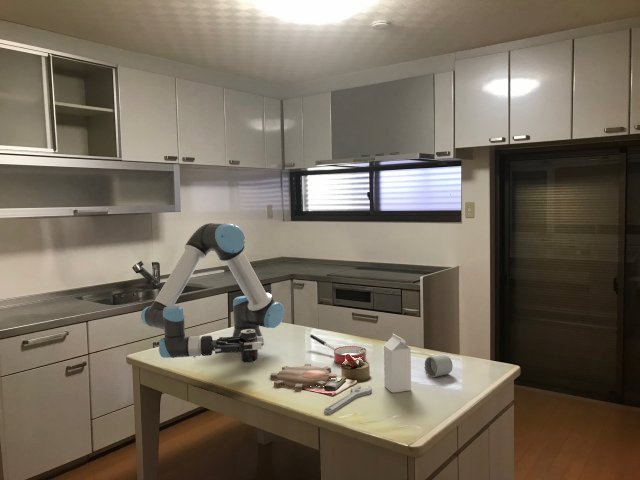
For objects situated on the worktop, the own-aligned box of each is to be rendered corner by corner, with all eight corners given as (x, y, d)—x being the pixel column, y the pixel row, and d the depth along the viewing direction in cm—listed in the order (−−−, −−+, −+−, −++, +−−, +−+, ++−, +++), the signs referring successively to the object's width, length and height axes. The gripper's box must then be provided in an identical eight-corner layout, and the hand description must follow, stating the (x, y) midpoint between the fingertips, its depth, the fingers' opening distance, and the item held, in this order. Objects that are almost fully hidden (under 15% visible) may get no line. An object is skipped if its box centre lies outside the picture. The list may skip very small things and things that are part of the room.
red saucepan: (296, 352, 232) (296, 338, 231) (317, 346, 241) (317, 332, 241) (351, 367, 209) (351, 352, 209) (372, 360, 219) (371, 345, 218)
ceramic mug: (454, 375, 197) (454, 355, 196) (437, 380, 193) (437, 359, 192) (435, 368, 206) (435, 349, 206) (419, 372, 202) (418, 352, 202)
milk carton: (392, 393, 181) (391, 339, 180) (384, 386, 188) (383, 334, 186) (411, 390, 183) (410, 337, 182) (402, 383, 190) (401, 332, 188)
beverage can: (261, 358, 205) (259, 328, 204) (254, 364, 198) (253, 333, 197) (244, 358, 207) (243, 328, 205) (237, 363, 200) (236, 333, 199)
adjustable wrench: (329, 416, 165) (329, 411, 165) (313, 411, 169) (313, 406, 169) (374, 392, 184) (374, 387, 184) (359, 388, 188) (359, 383, 188)
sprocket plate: (277, 367, 213) (277, 363, 212) (339, 367, 210) (338, 363, 209) (263, 390, 188) (263, 385, 188) (333, 391, 185) (333, 386, 185)
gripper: (206, 347, 211) (263, 344, 212) (197, 363, 191) (261, 360, 193) (204, 329, 210) (262, 326, 211) (196, 343, 191) (260, 340, 192)
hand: (261, 342), depth 202 cm, fingers closed on beverage can, 7 cm apart
